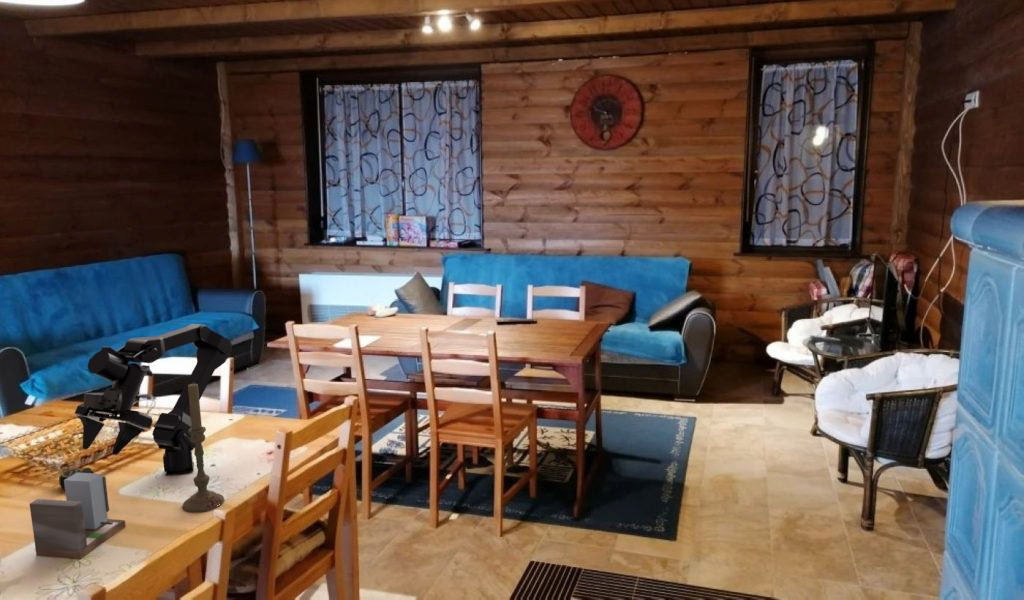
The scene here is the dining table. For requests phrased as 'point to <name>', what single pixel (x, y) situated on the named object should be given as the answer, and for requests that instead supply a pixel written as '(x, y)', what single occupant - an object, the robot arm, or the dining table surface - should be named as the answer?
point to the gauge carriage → (89, 497)
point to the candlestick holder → (199, 460)
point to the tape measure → (70, 473)
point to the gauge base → (66, 529)
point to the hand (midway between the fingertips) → (99, 451)
